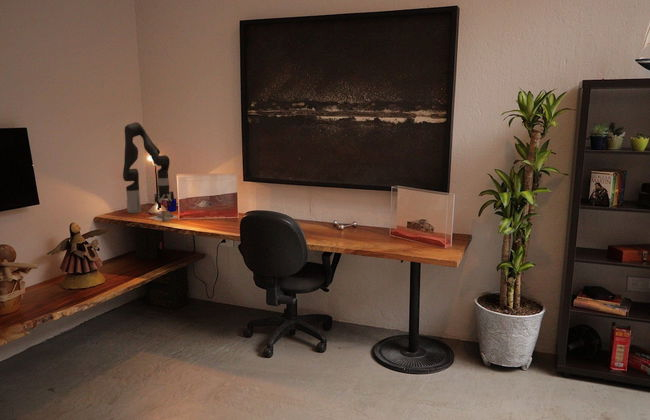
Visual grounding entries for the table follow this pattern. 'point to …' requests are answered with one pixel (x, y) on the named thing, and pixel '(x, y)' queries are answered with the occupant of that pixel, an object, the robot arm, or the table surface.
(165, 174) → the robot arm
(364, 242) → the table surface
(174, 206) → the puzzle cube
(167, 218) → the block
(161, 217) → the tile
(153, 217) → the mat
